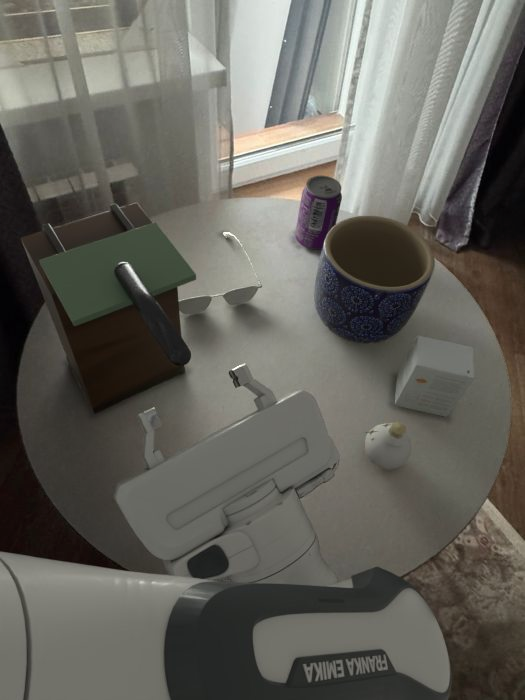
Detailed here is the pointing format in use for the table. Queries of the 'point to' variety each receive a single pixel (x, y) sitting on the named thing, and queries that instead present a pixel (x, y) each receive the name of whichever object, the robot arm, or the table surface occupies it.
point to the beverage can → (318, 210)
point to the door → (123, 281)
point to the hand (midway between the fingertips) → (192, 388)
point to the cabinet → (105, 318)
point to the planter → (371, 277)
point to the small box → (434, 376)
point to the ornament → (388, 445)
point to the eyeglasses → (230, 297)
